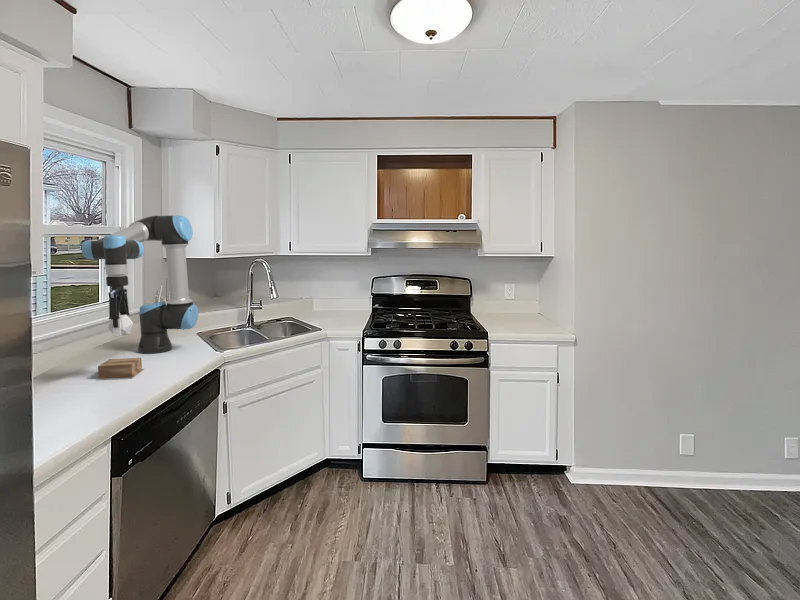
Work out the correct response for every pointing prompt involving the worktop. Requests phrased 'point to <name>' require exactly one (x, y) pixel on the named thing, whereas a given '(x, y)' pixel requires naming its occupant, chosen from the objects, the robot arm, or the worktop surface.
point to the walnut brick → (120, 368)
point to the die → (123, 325)
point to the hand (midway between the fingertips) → (120, 333)
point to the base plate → (119, 378)
